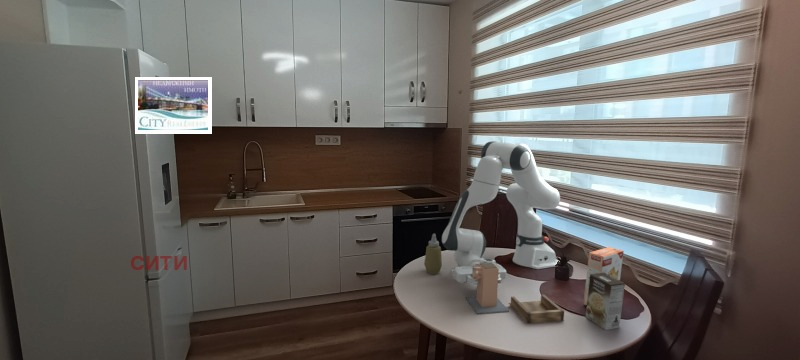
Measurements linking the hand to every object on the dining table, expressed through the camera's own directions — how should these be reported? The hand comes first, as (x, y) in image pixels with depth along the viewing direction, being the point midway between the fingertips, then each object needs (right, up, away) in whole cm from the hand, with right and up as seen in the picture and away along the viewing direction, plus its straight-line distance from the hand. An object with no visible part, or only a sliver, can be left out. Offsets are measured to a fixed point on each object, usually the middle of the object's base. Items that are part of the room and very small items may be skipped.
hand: (487, 282), depth 135 cm
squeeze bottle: (-18, -4, +31) cm, 36 cm away
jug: (-2, -8, +1) cm, 9 cm away
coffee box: (+37, -11, -9) cm, 40 cm away
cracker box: (+44, -9, +4) cm, 45 cm away
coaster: (0, -9, +1) cm, 9 cm away
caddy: (+16, -10, -3) cm, 19 cm away
